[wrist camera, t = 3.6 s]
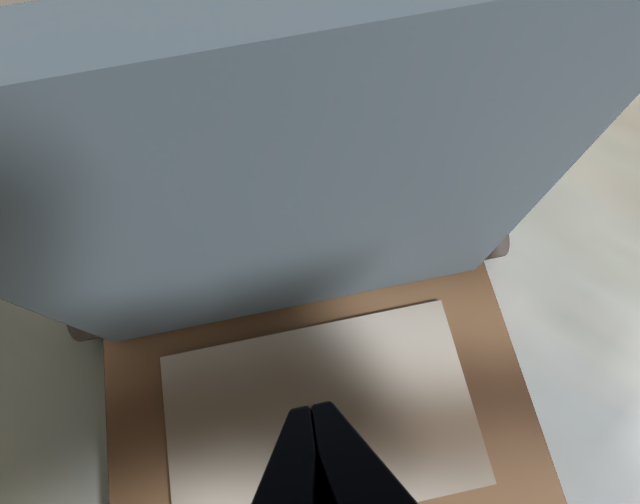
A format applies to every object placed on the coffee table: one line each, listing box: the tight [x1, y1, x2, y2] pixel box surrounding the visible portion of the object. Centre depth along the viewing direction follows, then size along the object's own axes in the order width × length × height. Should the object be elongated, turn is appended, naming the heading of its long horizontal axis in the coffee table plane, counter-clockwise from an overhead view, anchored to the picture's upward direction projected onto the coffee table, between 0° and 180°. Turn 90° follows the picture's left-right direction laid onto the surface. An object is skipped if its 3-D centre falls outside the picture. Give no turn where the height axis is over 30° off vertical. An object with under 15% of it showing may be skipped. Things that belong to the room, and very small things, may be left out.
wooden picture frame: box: [67, 234, 567, 504], centre depth 16 cm, size 10×16×2 cm, turn 101°
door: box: [0, 0, 640, 343], centre depth 11 cm, size 2×13×12 cm, turn 101°
